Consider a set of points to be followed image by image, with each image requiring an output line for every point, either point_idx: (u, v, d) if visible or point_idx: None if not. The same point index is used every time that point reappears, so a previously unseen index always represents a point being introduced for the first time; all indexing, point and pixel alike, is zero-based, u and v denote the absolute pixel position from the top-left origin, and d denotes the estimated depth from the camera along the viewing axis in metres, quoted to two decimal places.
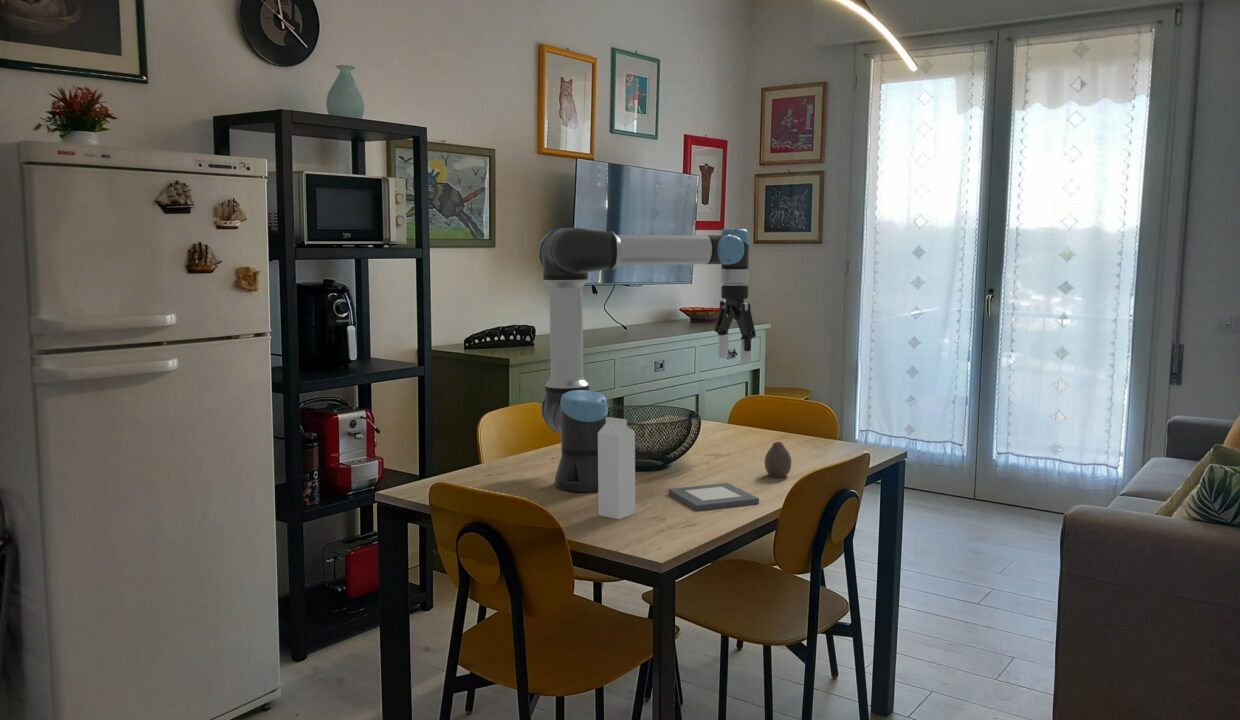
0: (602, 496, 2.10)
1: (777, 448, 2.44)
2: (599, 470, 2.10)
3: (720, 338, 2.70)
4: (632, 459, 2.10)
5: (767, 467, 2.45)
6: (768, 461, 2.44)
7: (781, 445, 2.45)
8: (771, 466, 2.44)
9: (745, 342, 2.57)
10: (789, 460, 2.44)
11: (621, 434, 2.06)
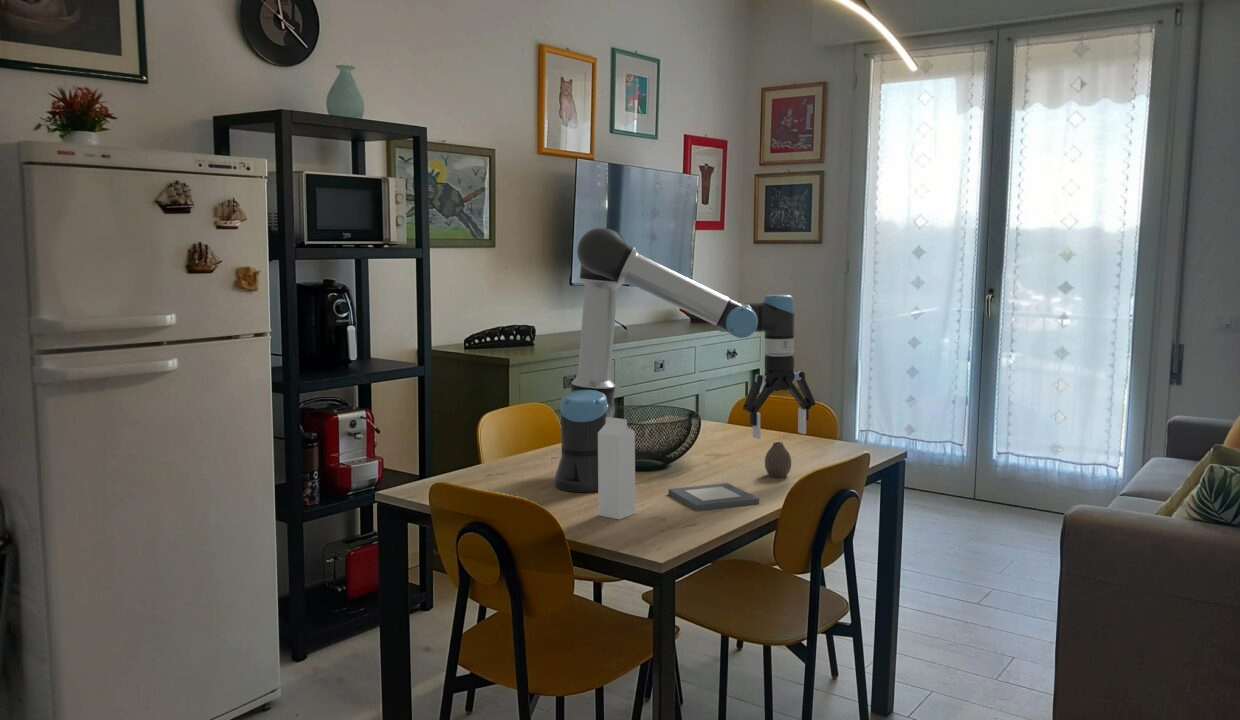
0: (602, 496, 2.10)
1: (777, 448, 2.44)
2: (599, 470, 2.10)
3: (798, 411, 2.48)
4: (632, 459, 2.10)
5: (767, 467, 2.45)
6: (768, 461, 2.44)
7: (781, 445, 2.45)
8: (771, 466, 2.44)
9: None
10: (789, 460, 2.44)
11: (621, 434, 2.06)
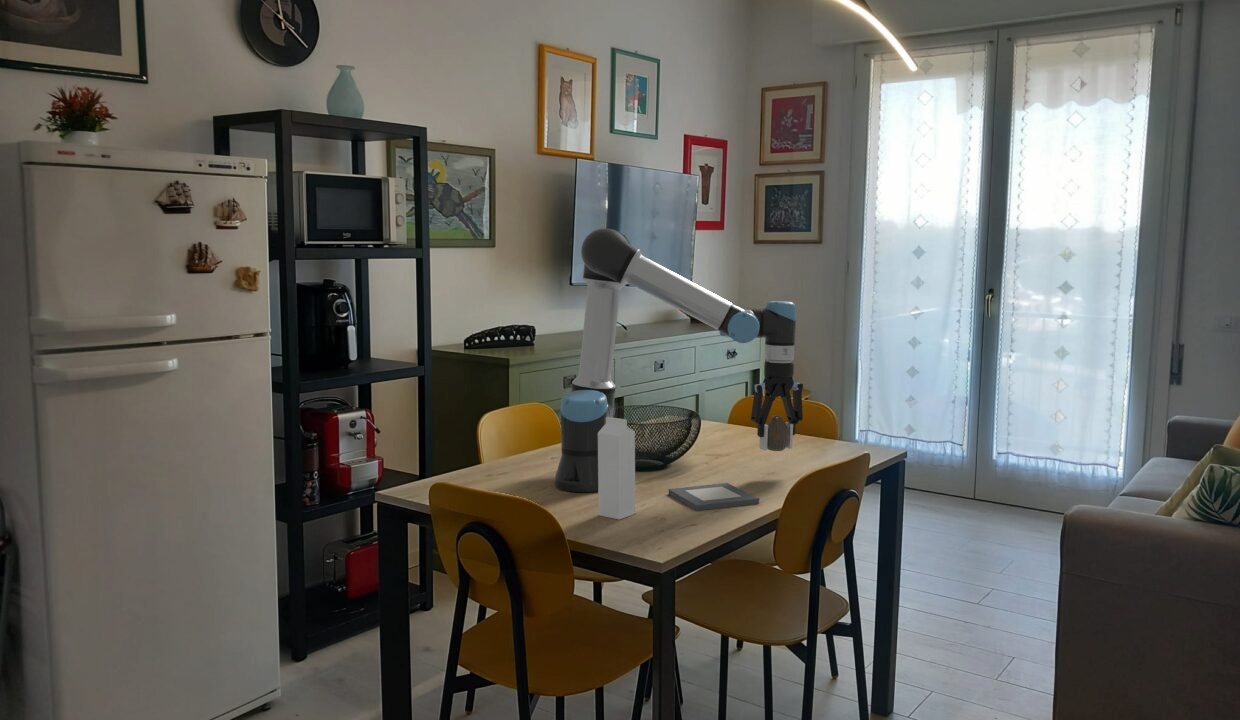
0: (602, 496, 2.10)
1: (776, 422, 2.44)
2: (599, 470, 2.10)
3: None
4: (632, 459, 2.10)
5: None
6: None
7: (780, 419, 2.44)
8: (769, 439, 2.43)
9: None
10: (787, 434, 2.44)
11: (621, 434, 2.06)
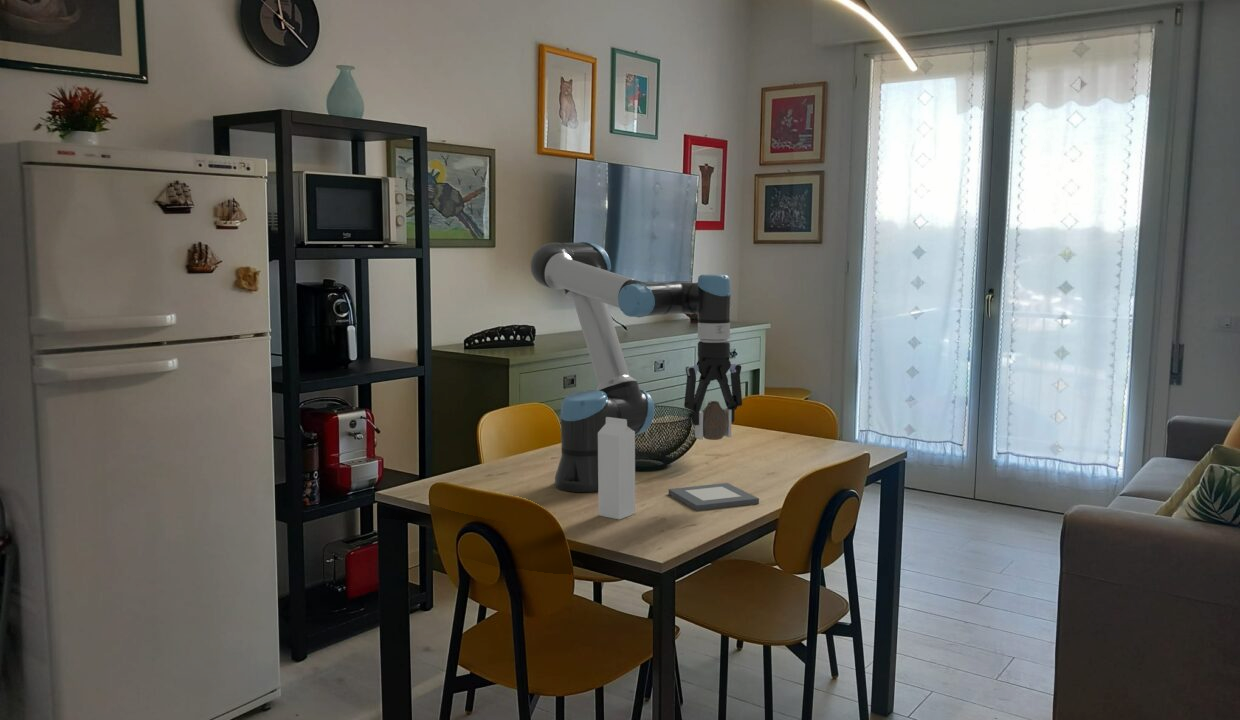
0: (602, 496, 2.10)
1: (712, 408, 2.21)
2: (599, 470, 2.10)
3: None
4: (632, 459, 2.10)
5: None
6: None
7: (716, 404, 2.21)
8: (705, 427, 2.20)
9: None
10: (725, 421, 2.21)
11: (621, 434, 2.06)
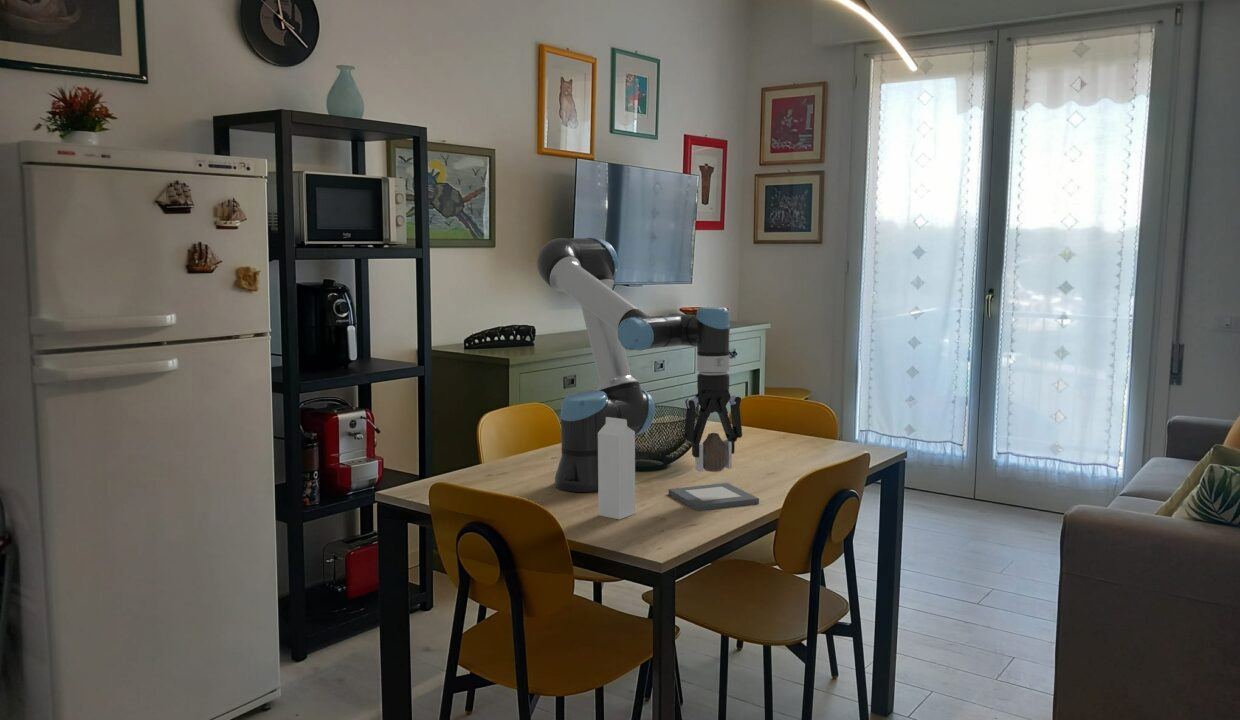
0: (602, 496, 2.10)
1: (712, 440, 2.21)
2: (599, 470, 2.10)
3: None
4: (632, 459, 2.10)
5: None
6: None
7: (716, 436, 2.22)
8: (705, 459, 2.21)
9: None
10: (725, 453, 2.21)
11: (621, 434, 2.06)
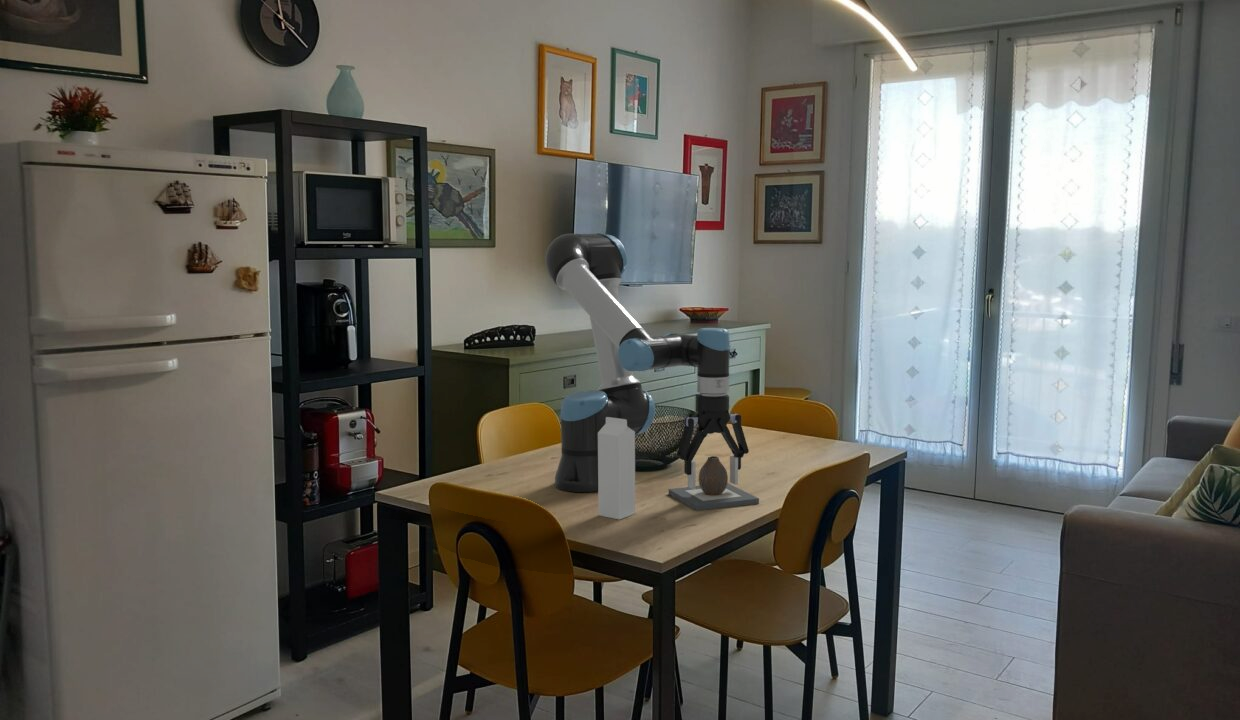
0: (602, 496, 2.10)
1: (712, 463, 2.22)
2: (599, 470, 2.10)
3: (730, 459, 2.27)
4: (632, 459, 2.10)
5: (701, 484, 2.23)
6: (702, 477, 2.22)
7: (716, 460, 2.23)
8: (705, 483, 2.22)
9: None
10: (725, 476, 2.22)
11: (621, 434, 2.06)
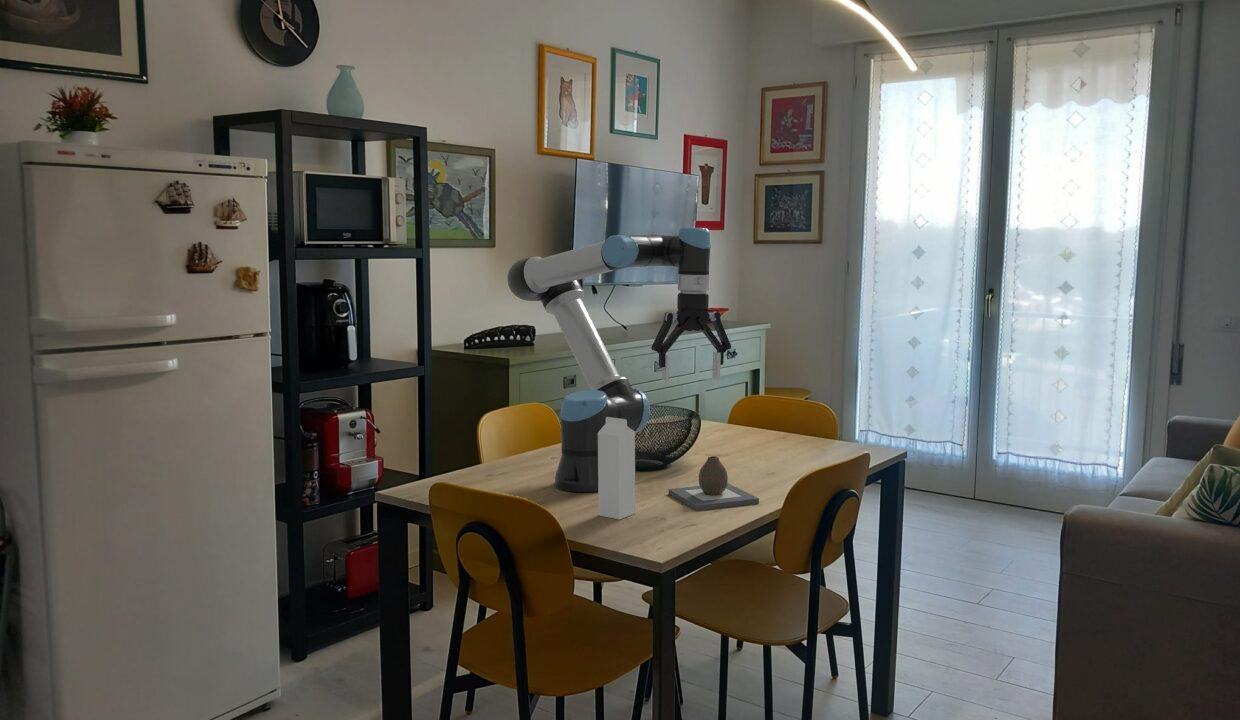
0: (602, 496, 2.10)
1: (712, 463, 2.22)
2: (599, 470, 2.10)
3: (713, 355, 2.32)
4: (632, 459, 2.10)
5: (701, 484, 2.23)
6: (702, 477, 2.22)
7: (716, 460, 2.23)
8: (705, 483, 2.22)
9: None
10: (725, 476, 2.22)
11: (621, 434, 2.06)
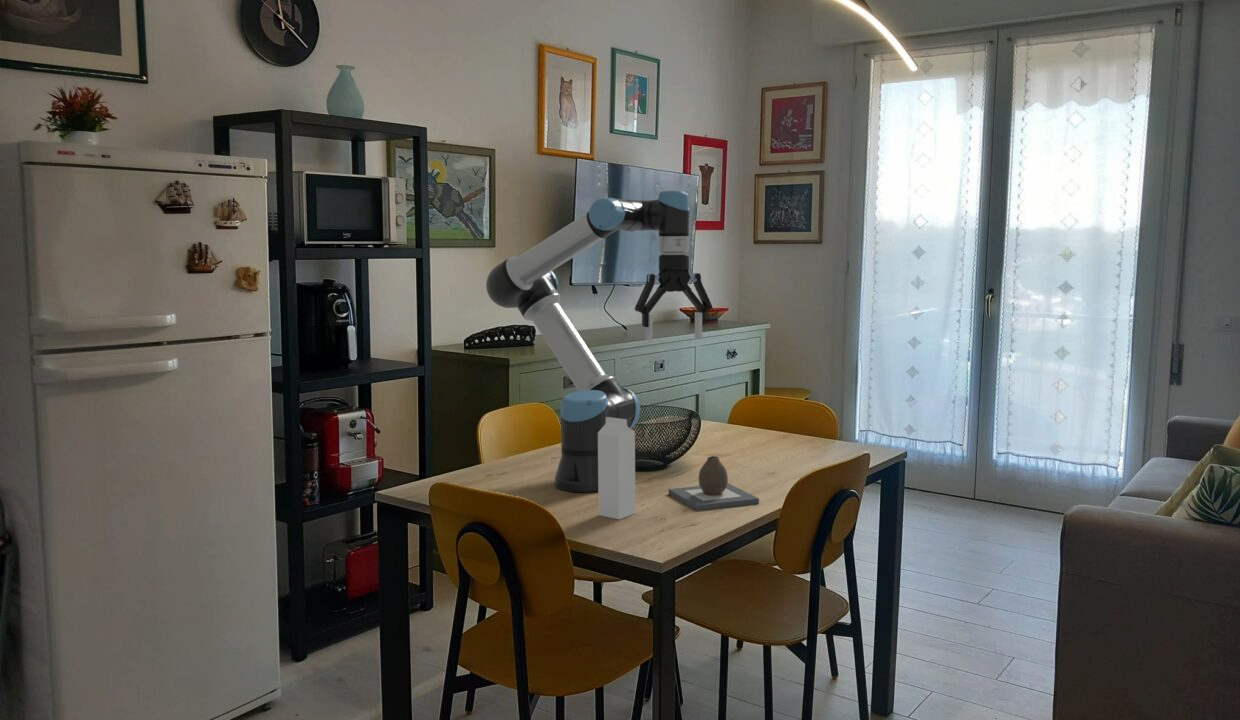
0: (602, 496, 2.10)
1: (712, 463, 2.22)
2: (599, 470, 2.10)
3: (695, 315, 2.39)
4: (632, 459, 2.10)
5: (701, 484, 2.23)
6: (702, 477, 2.22)
7: (716, 460, 2.23)
8: (705, 483, 2.22)
9: None
10: (725, 476, 2.22)
11: (621, 434, 2.06)
